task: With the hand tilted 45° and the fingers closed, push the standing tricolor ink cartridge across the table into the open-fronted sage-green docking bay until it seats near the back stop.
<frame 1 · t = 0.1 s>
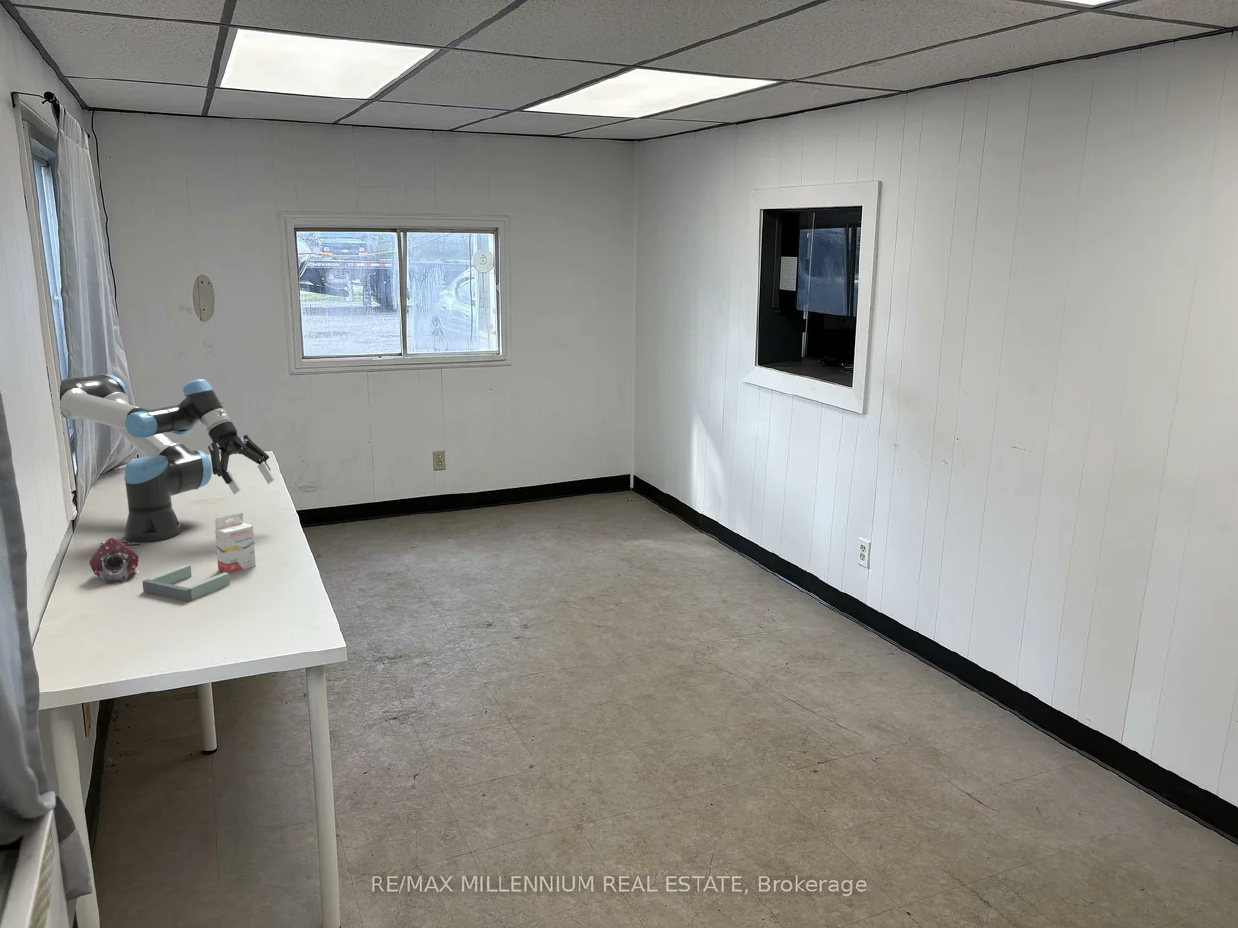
hand: (255, 486, 272), 15 cm above the table, tool tilted 35°, fingers open, 13 cm apart
cartridge dock: (189, 587, 233), on the table
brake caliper: (116, 577, 239), on the table
ink cartridge box: (237, 568, 247), on the table
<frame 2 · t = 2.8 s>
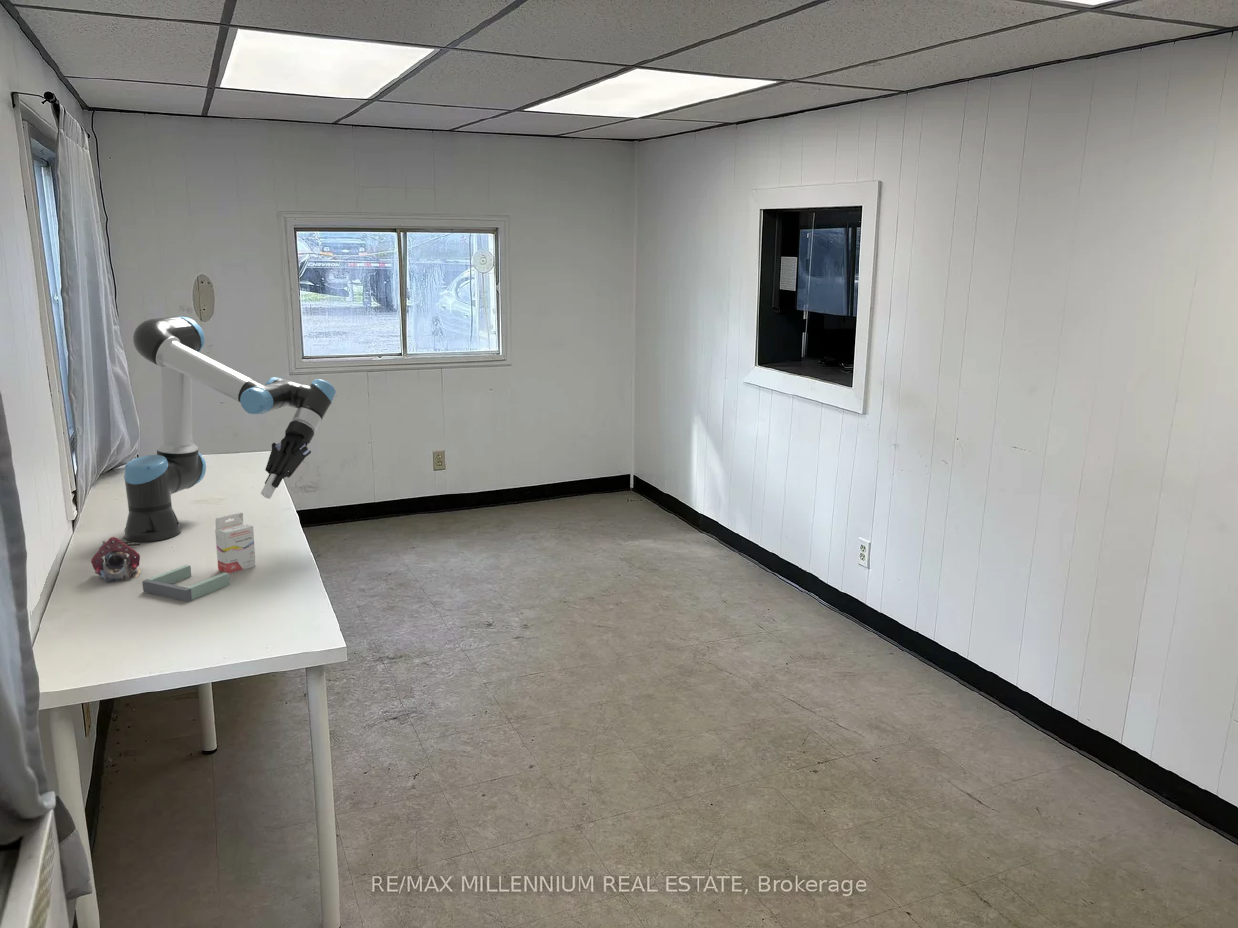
hand: (265, 495, 253), 18 cm above the table, tool tilted 45°, fingers closed
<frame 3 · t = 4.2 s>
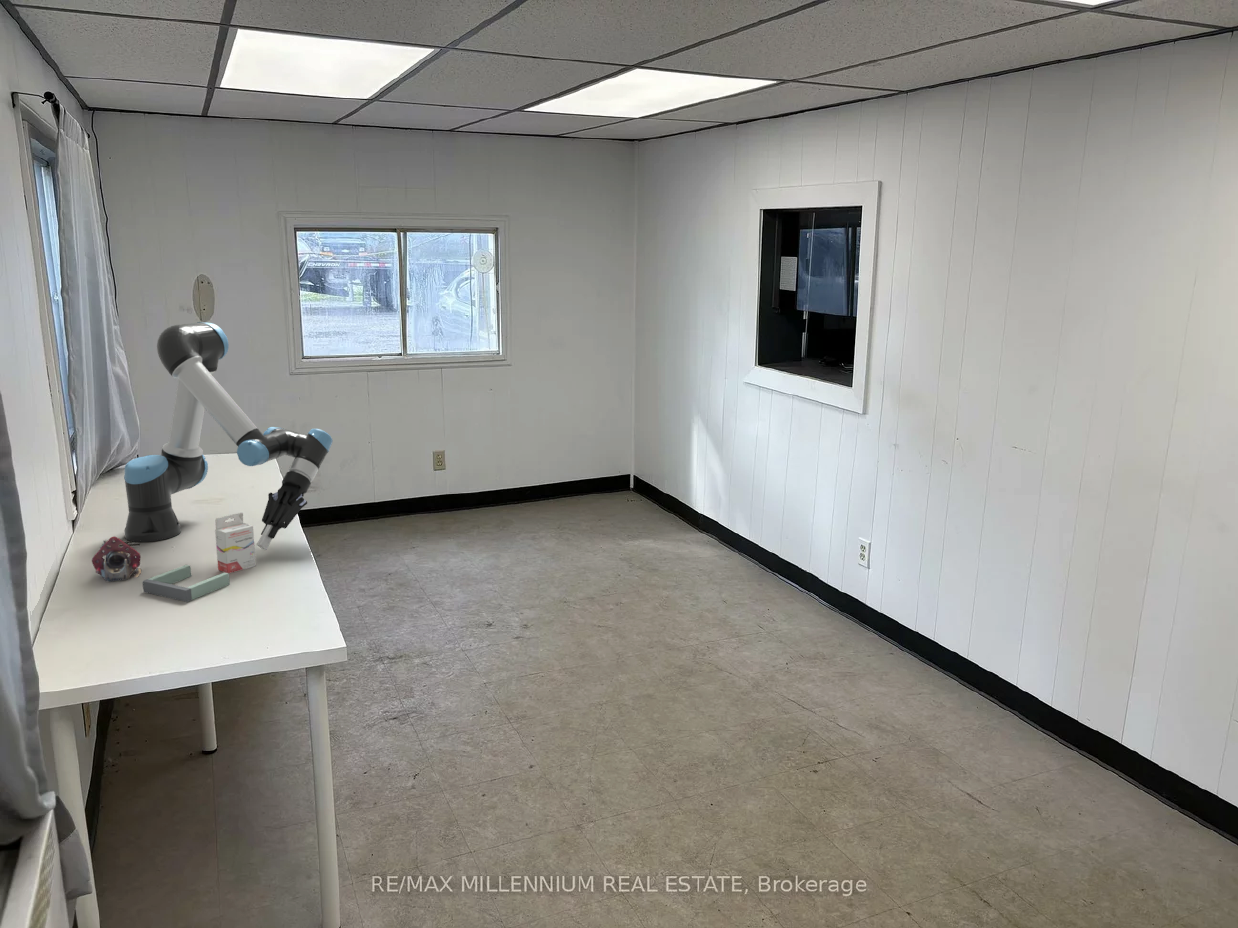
hand: (261, 547, 255), 3 cm above the table, tool tilted 45°, fingers closed
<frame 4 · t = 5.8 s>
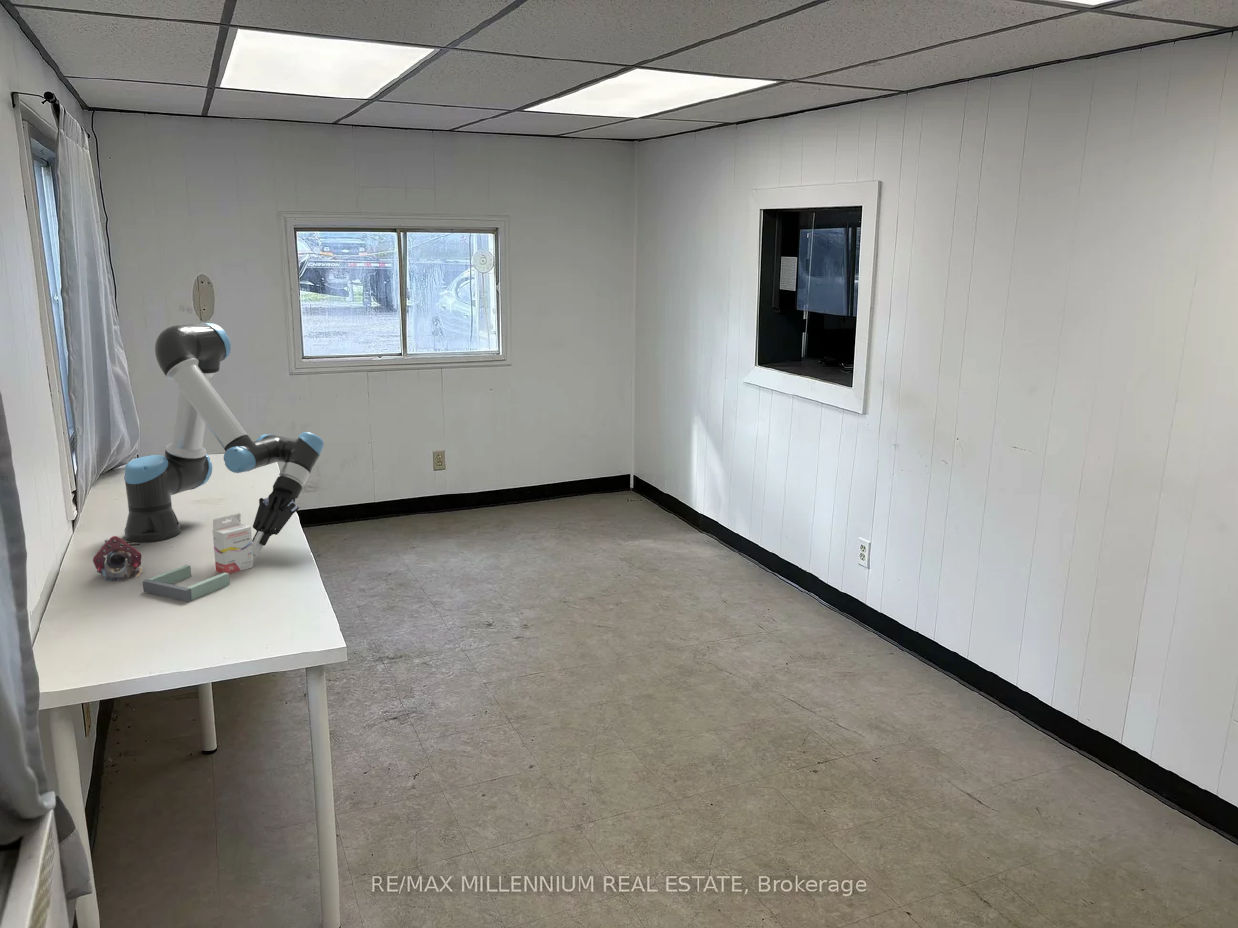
hand: (252, 554, 250), 3 cm above the table, tool tilted 45°, fingers closed
ink cartridge box: (235, 569, 246), on the table, touching gripper
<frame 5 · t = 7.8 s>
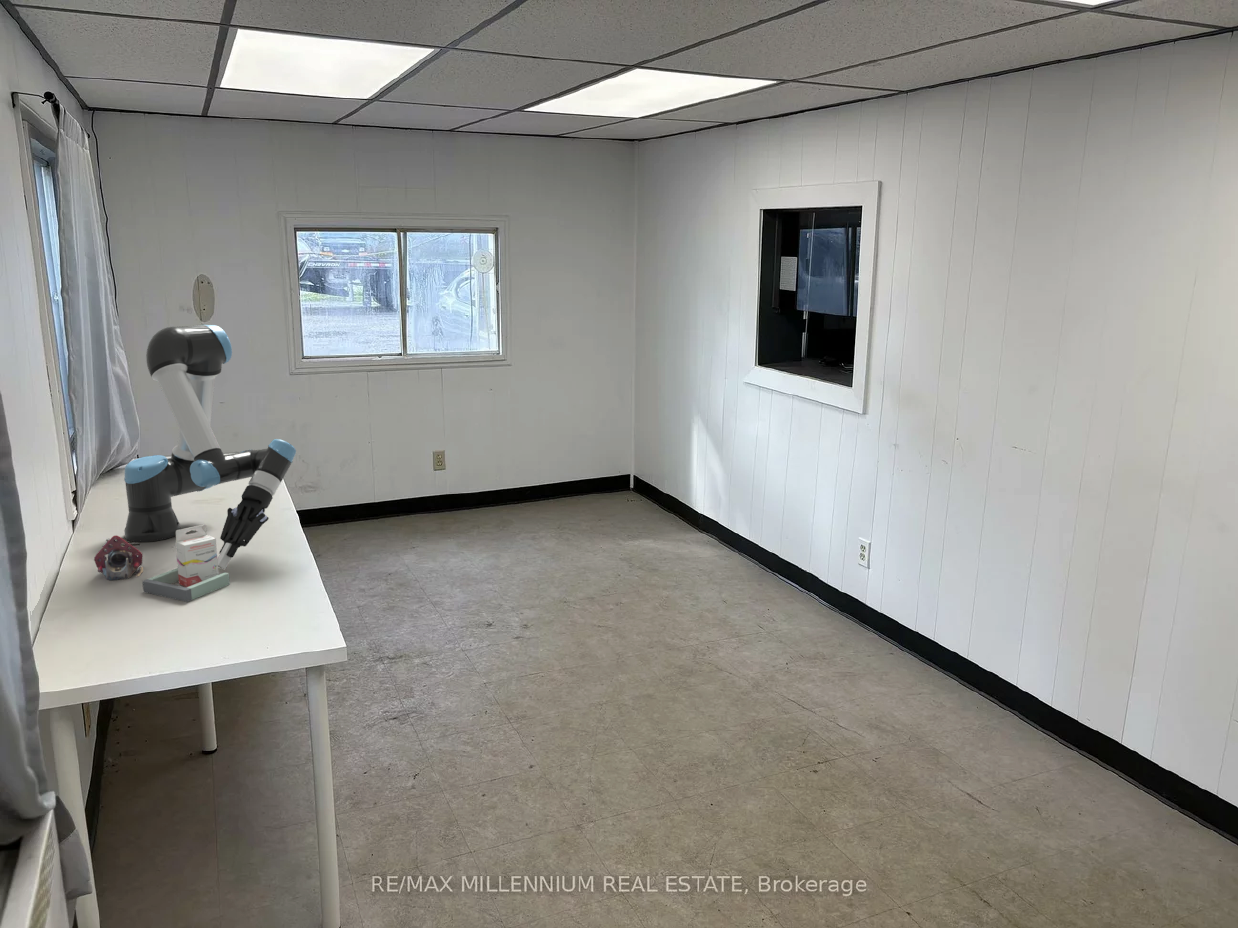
hand: (219, 566, 240), 3 cm above the table, tool tilted 45°, fingers closed
ink cartridge box: (199, 583, 236), on the table, touching gripper
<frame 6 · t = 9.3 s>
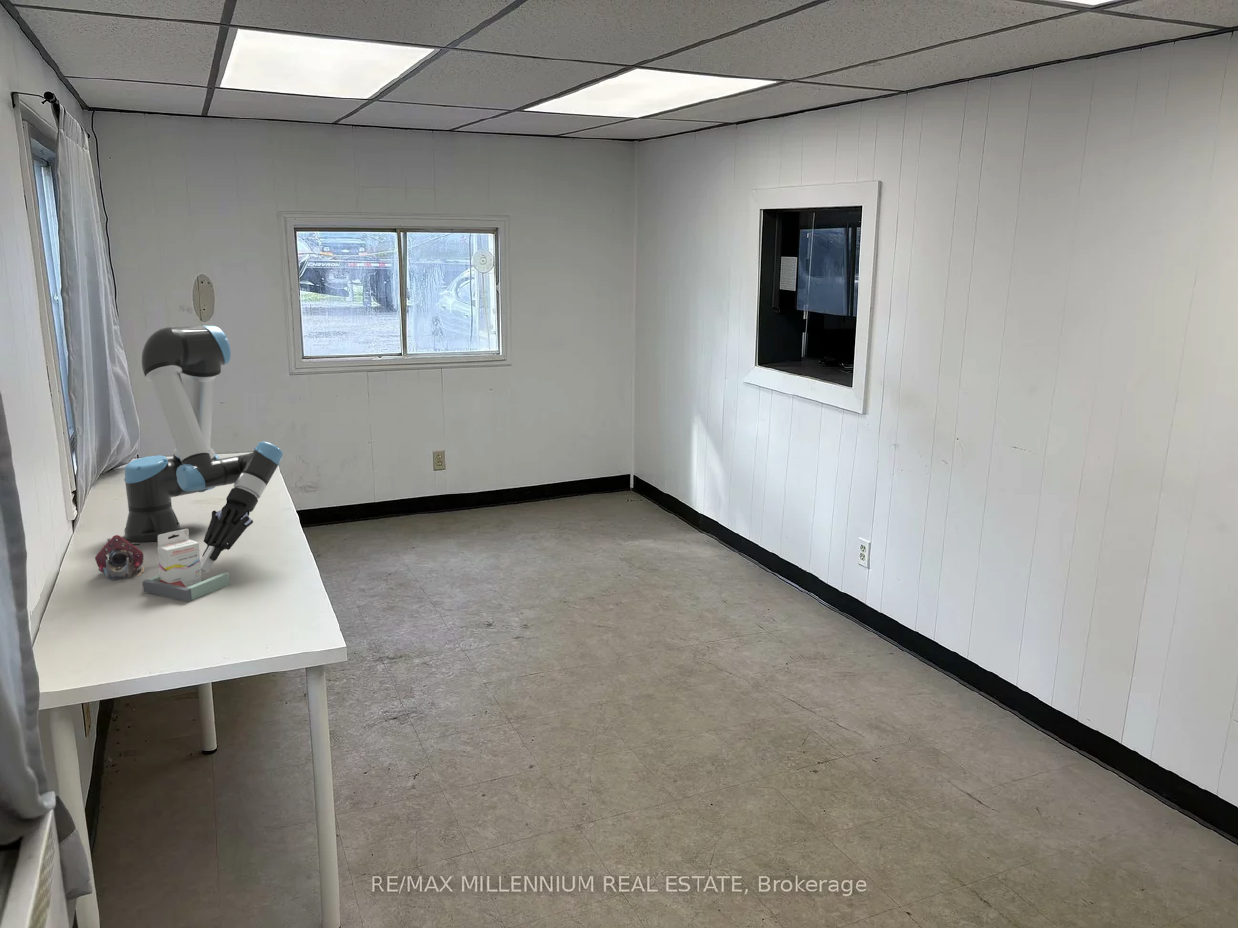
hand: (202, 570, 236), 3 cm above the table, tool tilted 45°, fingers closed
ink cartridge box: (182, 588, 233), on the table, touching gripper
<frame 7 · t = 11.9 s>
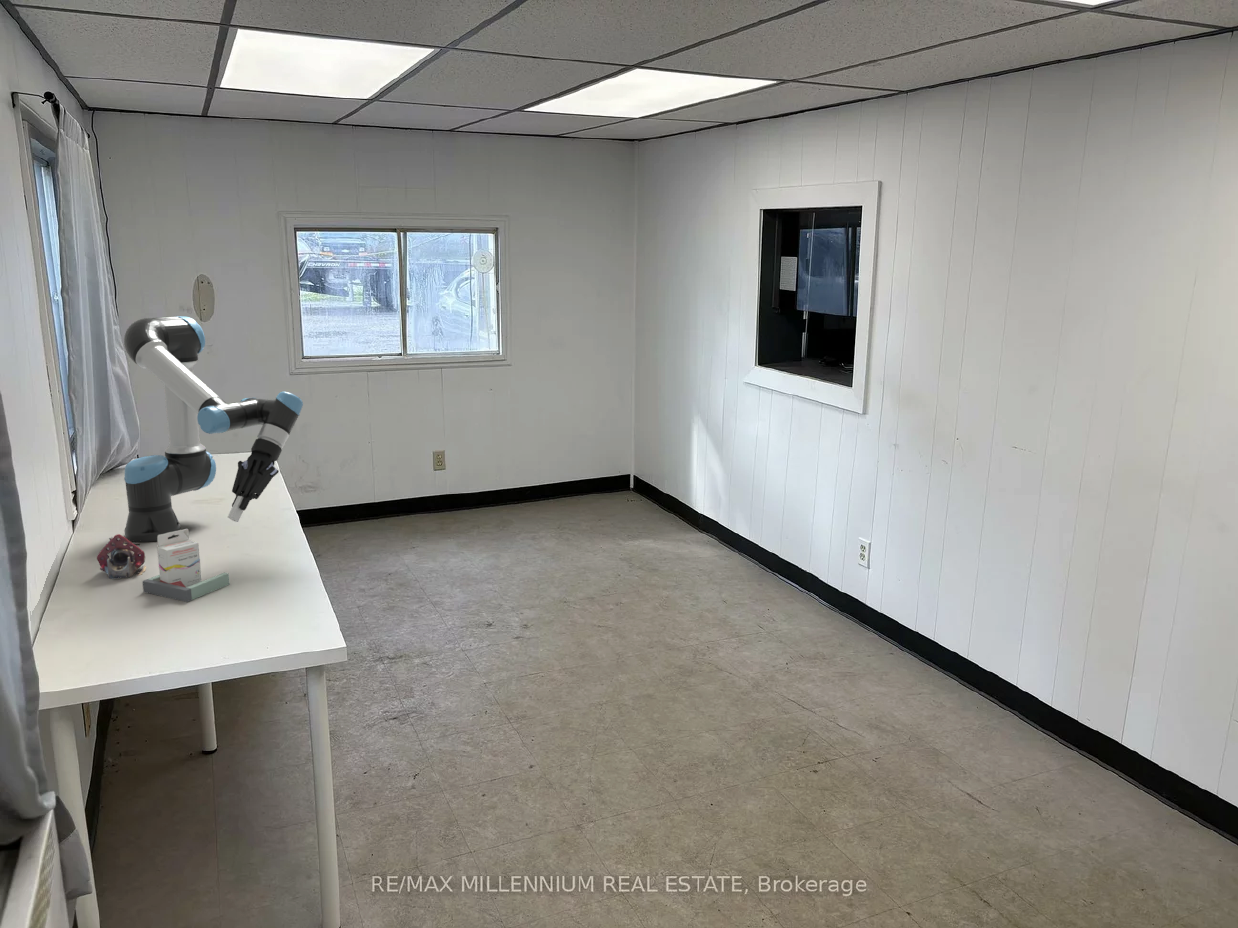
hand: (232, 519, 245), 14 cm above the table, tool tilted 40°, fingers closed
ink cartridge box: (182, 588, 233), on the table
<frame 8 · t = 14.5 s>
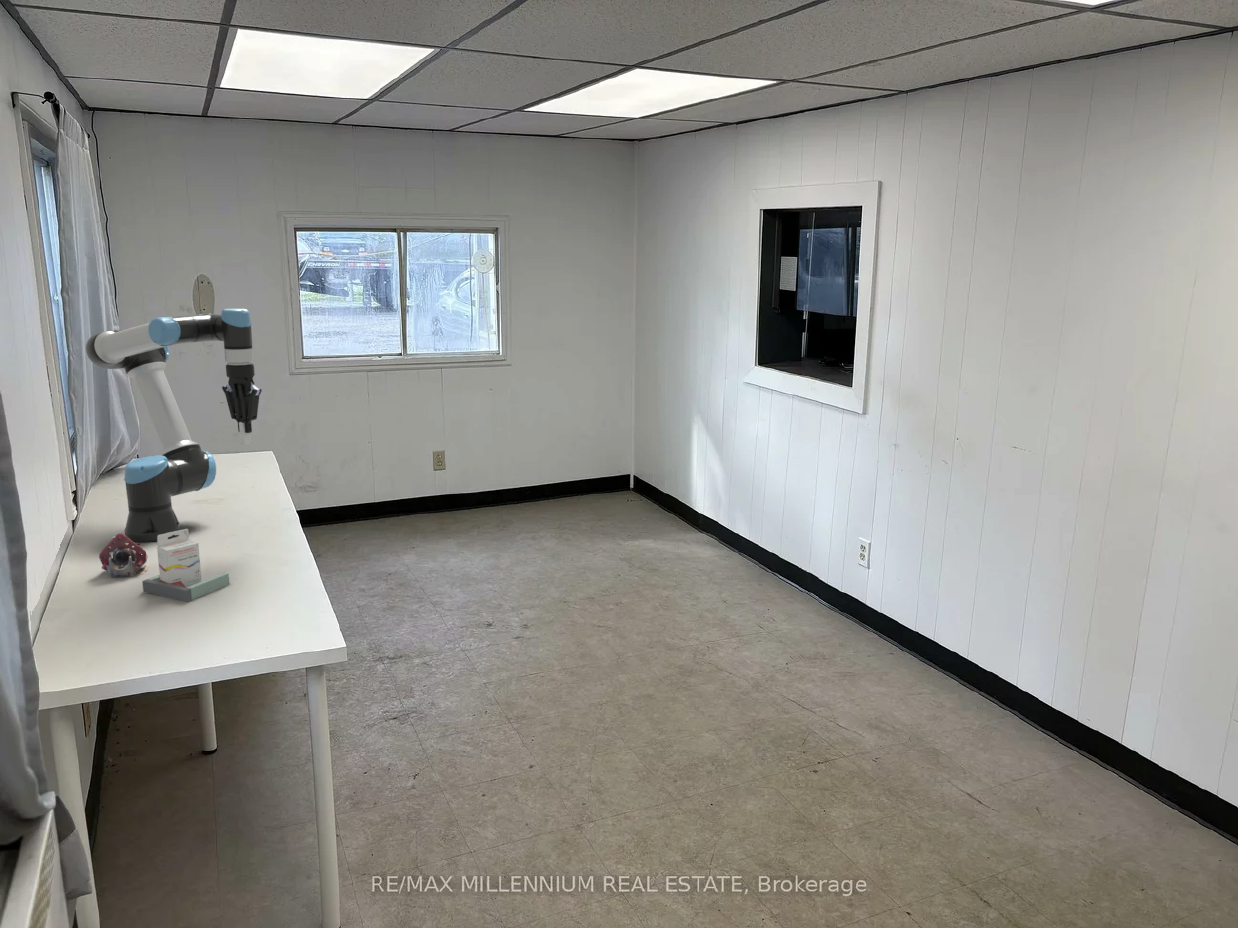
hand: (246, 443, 265), 29 cm above the table, tool pointing down, fingers closed
at the end: ink cartridge box inside the target area on the cartridge dock (1.5 cm from its centre), point 0.0 cm above the cartridge dock's base; ink cartridge box tilted 0°; ink cartridge box moved 17.1 cm from its start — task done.
